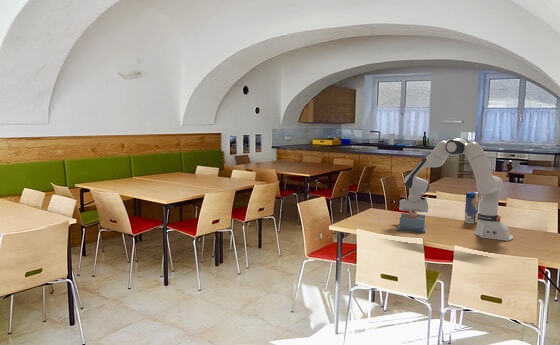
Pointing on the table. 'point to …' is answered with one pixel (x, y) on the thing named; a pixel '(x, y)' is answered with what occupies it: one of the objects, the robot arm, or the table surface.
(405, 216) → the sliding jaw
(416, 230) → the blue slanted stand
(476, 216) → the beverage box
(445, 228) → the table surface
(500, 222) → the robot arm
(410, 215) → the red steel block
